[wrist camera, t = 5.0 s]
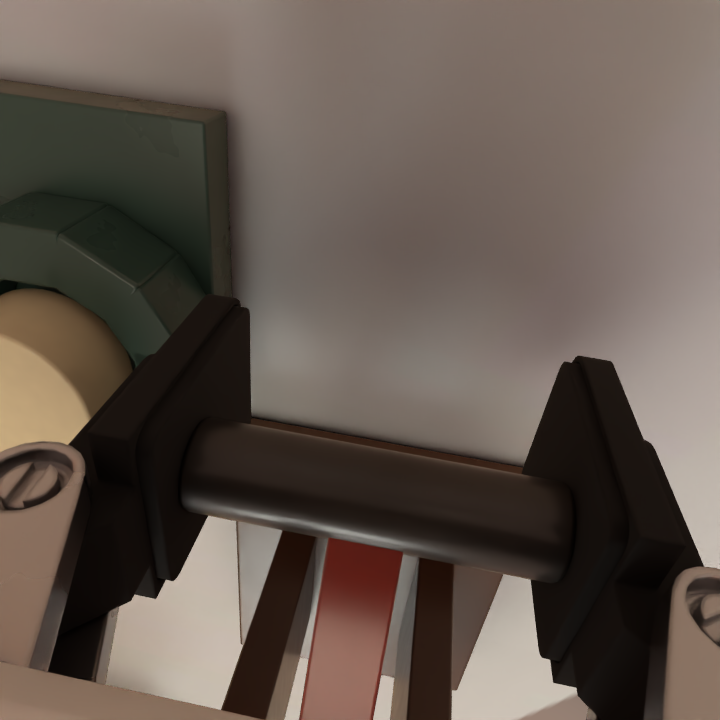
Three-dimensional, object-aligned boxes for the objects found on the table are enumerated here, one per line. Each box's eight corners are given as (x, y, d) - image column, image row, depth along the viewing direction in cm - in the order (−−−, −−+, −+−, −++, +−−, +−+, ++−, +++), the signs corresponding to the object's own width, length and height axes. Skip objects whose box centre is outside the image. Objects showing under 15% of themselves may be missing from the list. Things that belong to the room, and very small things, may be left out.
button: (-34, 274, 11) (-107, 315, 10) (124, 301, 11) (73, 346, 10) (7, 404, 13) (-48, 454, 12) (143, 429, 13) (103, 483, 12)
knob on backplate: (-53, 71, 12) (-192, 90, 9) (234, 112, 11) (169, 144, 9) (48, 427, 17) (-22, 500, 15) (242, 465, 17) (204, 545, 14)
